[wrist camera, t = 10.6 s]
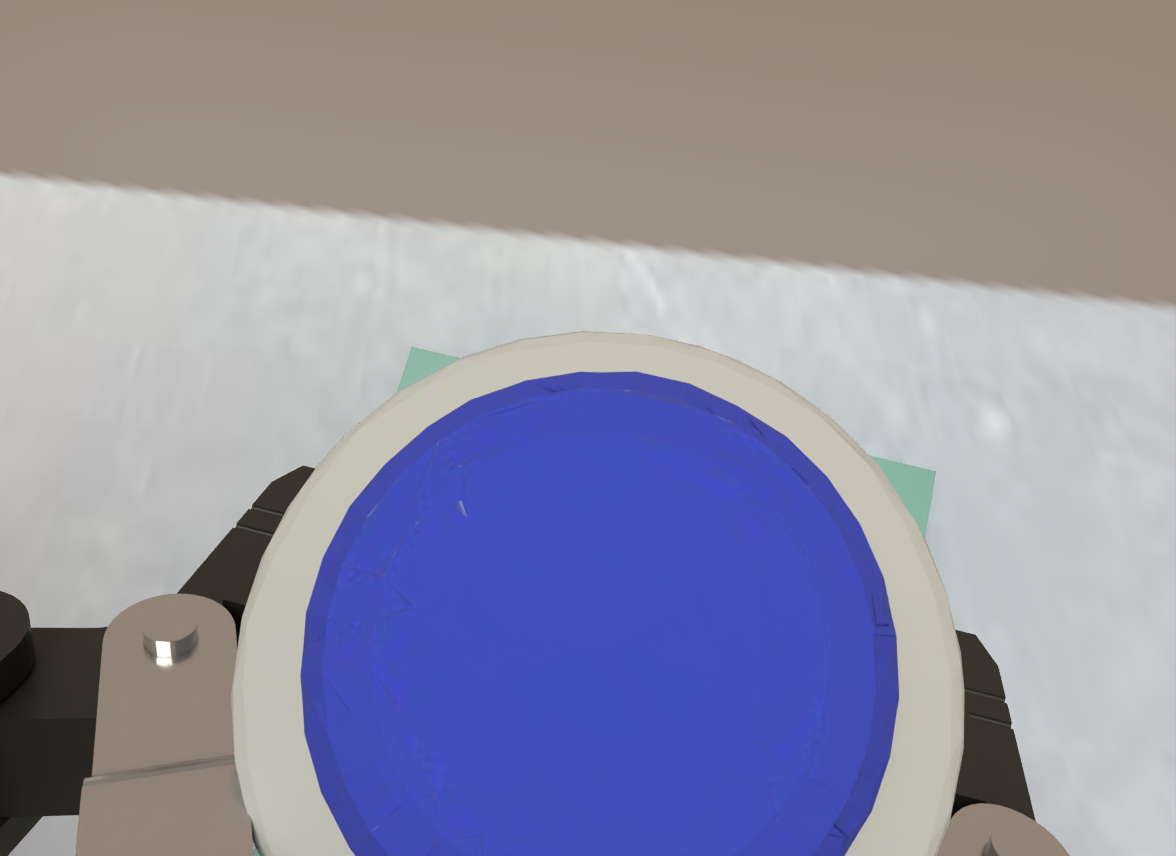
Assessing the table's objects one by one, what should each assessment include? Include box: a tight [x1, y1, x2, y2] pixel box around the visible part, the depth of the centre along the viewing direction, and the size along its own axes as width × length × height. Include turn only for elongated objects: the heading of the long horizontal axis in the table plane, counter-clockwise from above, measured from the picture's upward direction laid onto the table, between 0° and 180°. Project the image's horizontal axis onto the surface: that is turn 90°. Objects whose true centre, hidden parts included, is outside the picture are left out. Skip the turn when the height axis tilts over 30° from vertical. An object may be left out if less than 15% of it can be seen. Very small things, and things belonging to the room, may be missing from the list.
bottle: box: [231, 331, 964, 856], centre depth 14 cm, size 7×7×20 cm
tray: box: [254, 347, 936, 856], centre depth 25 cm, size 14×14×2 cm
